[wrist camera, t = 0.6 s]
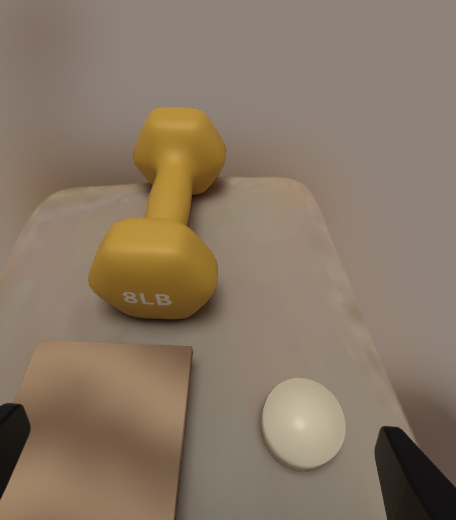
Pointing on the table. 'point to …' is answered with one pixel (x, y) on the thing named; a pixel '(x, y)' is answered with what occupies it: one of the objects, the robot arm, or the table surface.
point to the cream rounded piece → (302, 424)
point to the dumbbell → (164, 222)
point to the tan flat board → (101, 432)
